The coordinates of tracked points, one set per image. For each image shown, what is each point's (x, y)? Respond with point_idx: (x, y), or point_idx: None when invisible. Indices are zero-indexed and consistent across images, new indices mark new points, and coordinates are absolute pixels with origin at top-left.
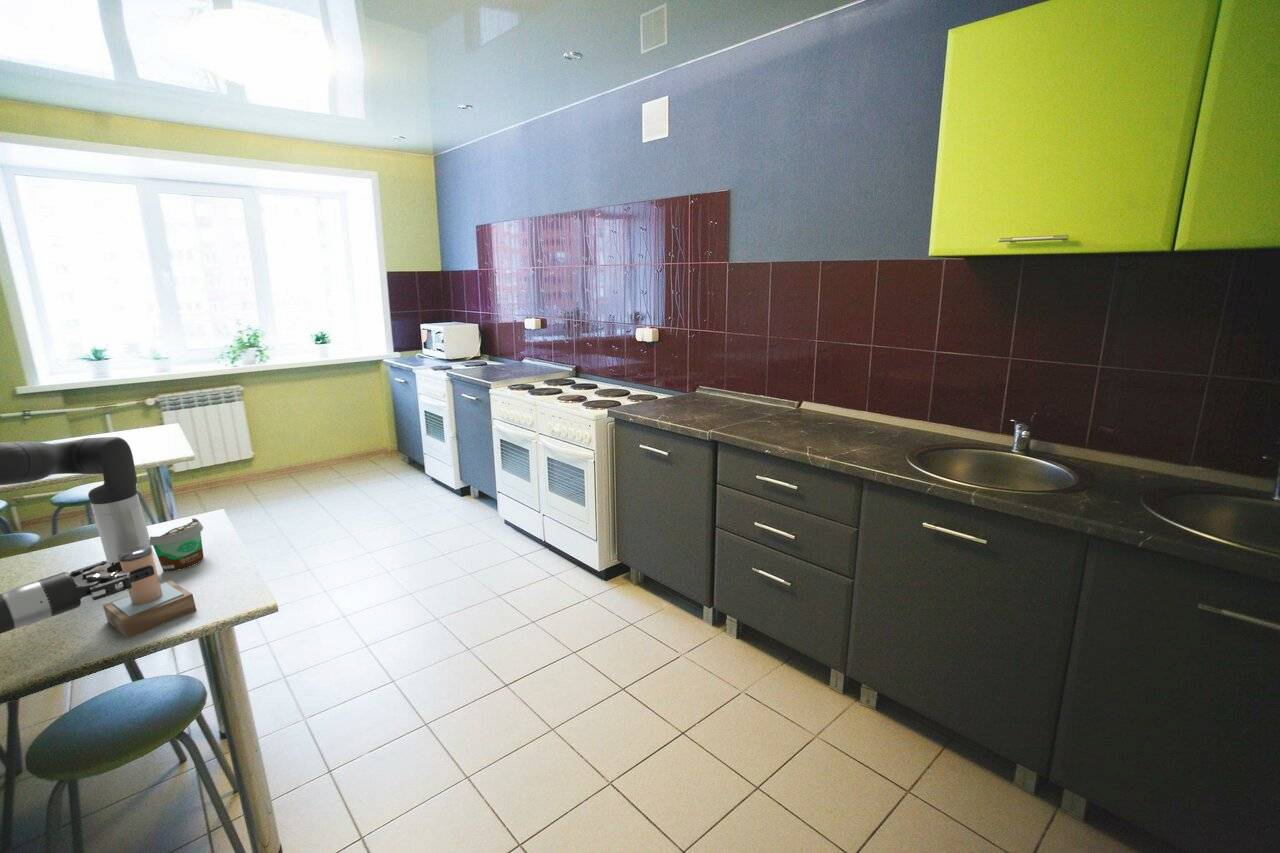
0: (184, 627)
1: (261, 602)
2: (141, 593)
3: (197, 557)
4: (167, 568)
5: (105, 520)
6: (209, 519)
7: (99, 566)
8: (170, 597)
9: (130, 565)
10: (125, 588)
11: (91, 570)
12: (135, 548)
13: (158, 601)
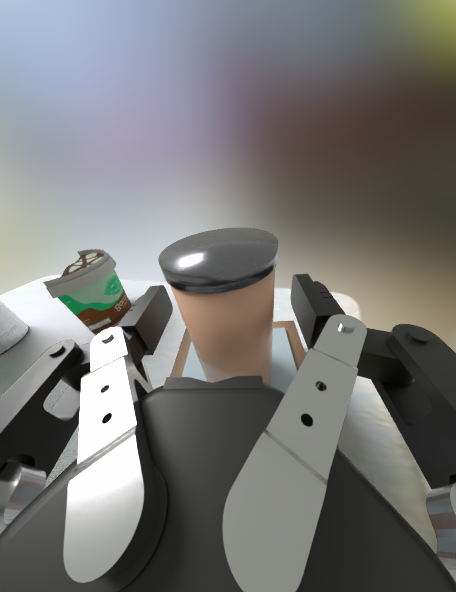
0: (359, 377)
1: (338, 295)
2: (269, 370)
3: (127, 298)
4: (100, 326)
5: None
6: (51, 278)
7: (106, 375)
8: (281, 344)
9: (265, 295)
10: (416, 387)
11: (99, 437)
12: (180, 244)
13: (283, 364)
